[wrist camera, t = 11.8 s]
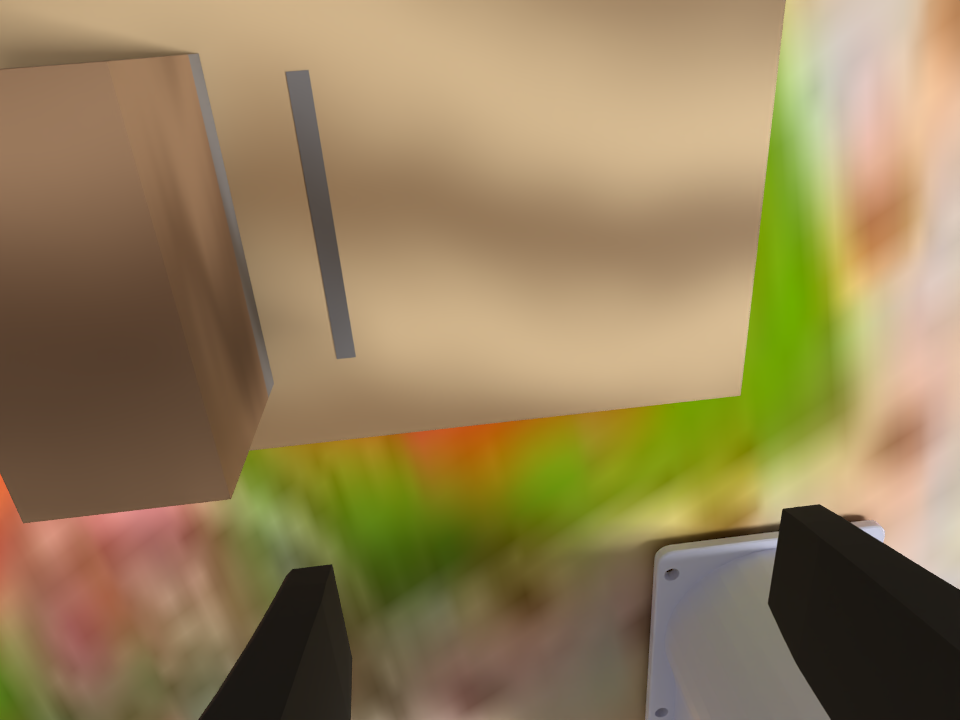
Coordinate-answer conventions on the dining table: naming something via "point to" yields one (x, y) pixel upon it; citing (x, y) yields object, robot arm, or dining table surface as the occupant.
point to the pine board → (472, 193)
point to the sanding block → (121, 293)
